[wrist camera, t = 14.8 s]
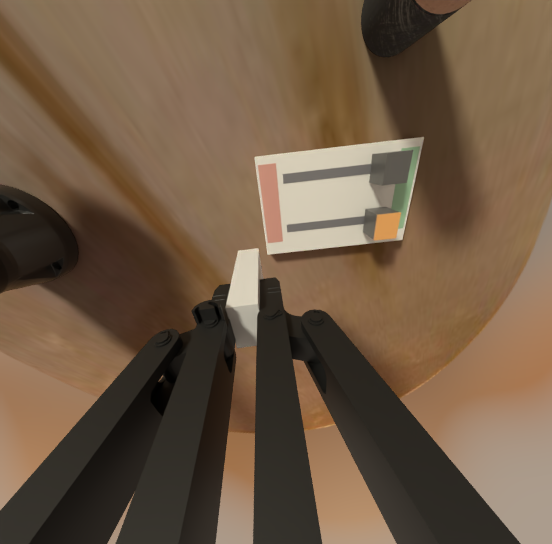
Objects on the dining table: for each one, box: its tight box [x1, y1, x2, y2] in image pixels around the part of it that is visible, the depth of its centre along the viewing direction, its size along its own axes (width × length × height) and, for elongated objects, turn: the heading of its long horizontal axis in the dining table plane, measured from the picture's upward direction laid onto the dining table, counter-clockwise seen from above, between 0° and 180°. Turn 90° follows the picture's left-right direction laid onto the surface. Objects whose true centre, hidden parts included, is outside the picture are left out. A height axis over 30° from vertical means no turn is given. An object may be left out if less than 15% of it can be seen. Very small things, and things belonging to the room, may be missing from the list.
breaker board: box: [255, 137, 424, 255], centre depth 29 cm, size 22×14×6 cm, turn 96°
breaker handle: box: [363, 207, 401, 241], centre depth 29 cm, size 3×4×4 cm
